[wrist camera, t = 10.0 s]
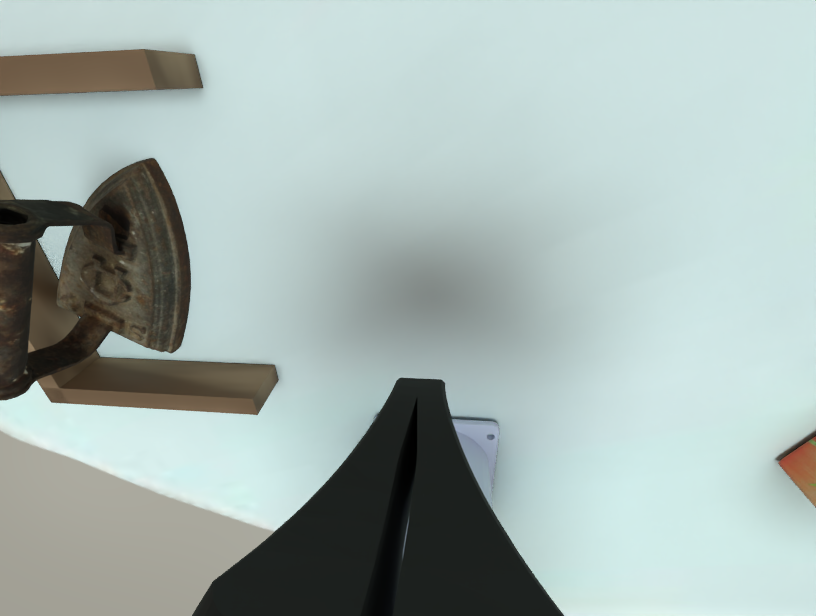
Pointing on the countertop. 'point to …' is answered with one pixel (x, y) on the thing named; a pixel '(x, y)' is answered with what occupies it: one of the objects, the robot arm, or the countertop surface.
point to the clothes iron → (96, 273)
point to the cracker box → (803, 468)
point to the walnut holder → (49, 322)
